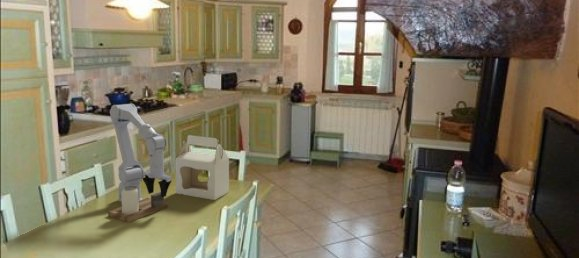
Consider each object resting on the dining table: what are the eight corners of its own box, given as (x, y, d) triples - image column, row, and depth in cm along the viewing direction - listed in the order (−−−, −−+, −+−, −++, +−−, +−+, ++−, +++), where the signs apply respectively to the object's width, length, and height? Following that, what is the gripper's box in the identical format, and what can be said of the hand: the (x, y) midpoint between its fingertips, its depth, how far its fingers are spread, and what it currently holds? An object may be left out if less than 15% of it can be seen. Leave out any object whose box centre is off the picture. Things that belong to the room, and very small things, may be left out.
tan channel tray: (108, 216, 184) (107, 199, 183) (147, 201, 202) (147, 187, 201) (128, 222, 178) (128, 205, 177) (167, 207, 196) (167, 192, 195)
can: (132, 219, 182) (131, 191, 180) (118, 217, 184) (117, 189, 182) (141, 214, 188) (141, 186, 186) (128, 212, 190) (127, 184, 188)
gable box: (229, 192, 220) (229, 136, 215) (215, 200, 208) (215, 141, 203) (190, 186, 228) (190, 132, 223) (175, 193, 216) (174, 136, 211)
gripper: (137, 163, 190) (138, 193, 192) (162, 168, 182) (162, 200, 185) (150, 159, 196) (150, 189, 198) (174, 165, 188) (174, 196, 191)
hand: (157, 194), depth 192 cm, fingers open, 7 cm apart
